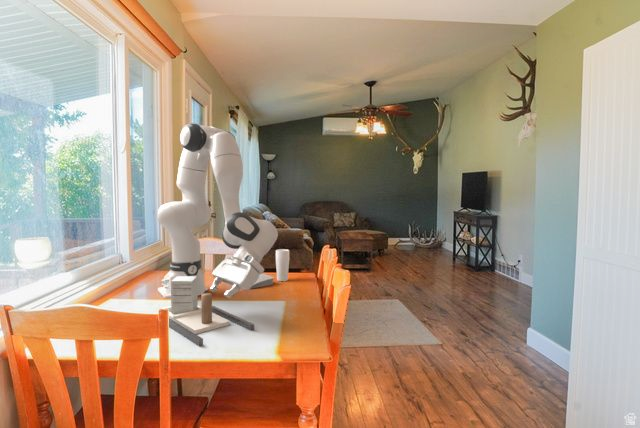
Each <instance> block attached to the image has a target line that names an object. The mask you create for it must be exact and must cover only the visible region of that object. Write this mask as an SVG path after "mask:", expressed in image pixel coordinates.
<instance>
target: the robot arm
mask: <svg viewBox="0 0 640 428" xmlns="http://www.w3.org/2000/svg"><path fill="white" fill-rule="evenodd" d="M179 141H180V144H181V146H182V148H183V150H182V152H181V155H180V160H179V164H178V170H177V177H176V187H177V188H178V190H179V191H181V195H182V201H181V200H180V201H178V200H177V201H170V202H167V203H164V204H162V205H161V206H160V207H159V208H158V209H157V215H156V217H157V221H158V224H160V225H161V227H163V228H164V229H165V231H166V232H167V234H168V237H169V240H170V244H171V245H170V246H171V261H170V265H169V271H168V272H167V273H166V274H165V275H164V277H163V279H161V285H162V286H160V287H158V288H157V291H158V292H159V294H160V296H161V297H163V299H164V298H165V299H171V281H172V280H173V279H174V278H176V277H177V276H197V297H198V296H201V295H202V294H204V293H205V292H206V291H208V287H207V286H206V283H205V282H206V280H205V273H204V271H203V270H202V260H201V242H200V240H199V239H198V238H197V237H195V235H194V233H193V229H192V227H200V226H203V225H205V224H207V223H208V222H209V221H210V220H211V217H212V210H211V207H210V205H209V204H208V203H207V199H206V193H205V192H206V191H205V187H206V182H207V181H206V179H207V175H208V174H207V173H208V166H209V160H210V163H211V169H212V173H213V175H214V179H215V181H216V185H217V188H218V192H219V195H220V199H221V204H222V211H223V212H222V213H223V218H224V226H223V230H222V232H221V238H222V241H223V243H224V245H226V247H228V248H230V249H233V250H236V251H235V252H234V253H233V255H232V256H231V257H229V258H225V259H223V260H222V261H221V262H219V264H218V265H217V266H216V267H215V268H214V269H213V271H212V273H211V276H213V277H214V279H213V281H212V285H211V286H210V287H209V290H211V291H212V292H214V293H216V292H217V291H218V290H219V284H221V283H225V284H228V285H230V286H232V287H231V288H230V289H228V290H226V291H225V292H224V294H223V296H224V297H226V298H227V299H231V298H232V296H234V294H236V293H237V292H239V291H240V290H244V291H248V290H251V289H252V288H251V287H252V286H253V285H254V283H255V282H256V281H257V279H258V278H259V274H264V271H265V268H264V267H263V265H261V262H262V260H263V257H264V256H265V255H267V254H268V252H269V251H270V250H271V248H273V246H274V245H275V243H276V241H277V239H278V237H279V233H278V232H279V231H278V229H277V227H276V226H275V224H273V222H271V221H270V220H268V219H258V218H255V217H253V216H250V215H249V214H247V213H244V212H242V211H241V207H240V199H239V194H240V188H241V185H242V181H243V176H244V168H243V167H244V166H243V165H244V164H243V159H242V155H241V151H240V147H239V144H238V142H237V139H236V136H235V135H234V133H232V132H230V131H228V130H226V129H225V130H224V129H220V128H218V127H214V126H208V125H202V124H198V123H187V124H185V125H184V126H183V127H182V129H181V131H180V134H179Z"/></svg>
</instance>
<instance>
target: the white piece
mask: <svg viewBox="0 0 640 428" xmlns="http://www.w3.org/2000/svg"><path fill="white" fill-rule="evenodd" d="M289 264H290V250H289V249H288V248H287V249H285V248H279V249H276V250H275V266H276V267H275V268H276V281H277V282H281V281H283V282H287V281H288V280H289V266H290V265H289Z"/></svg>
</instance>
